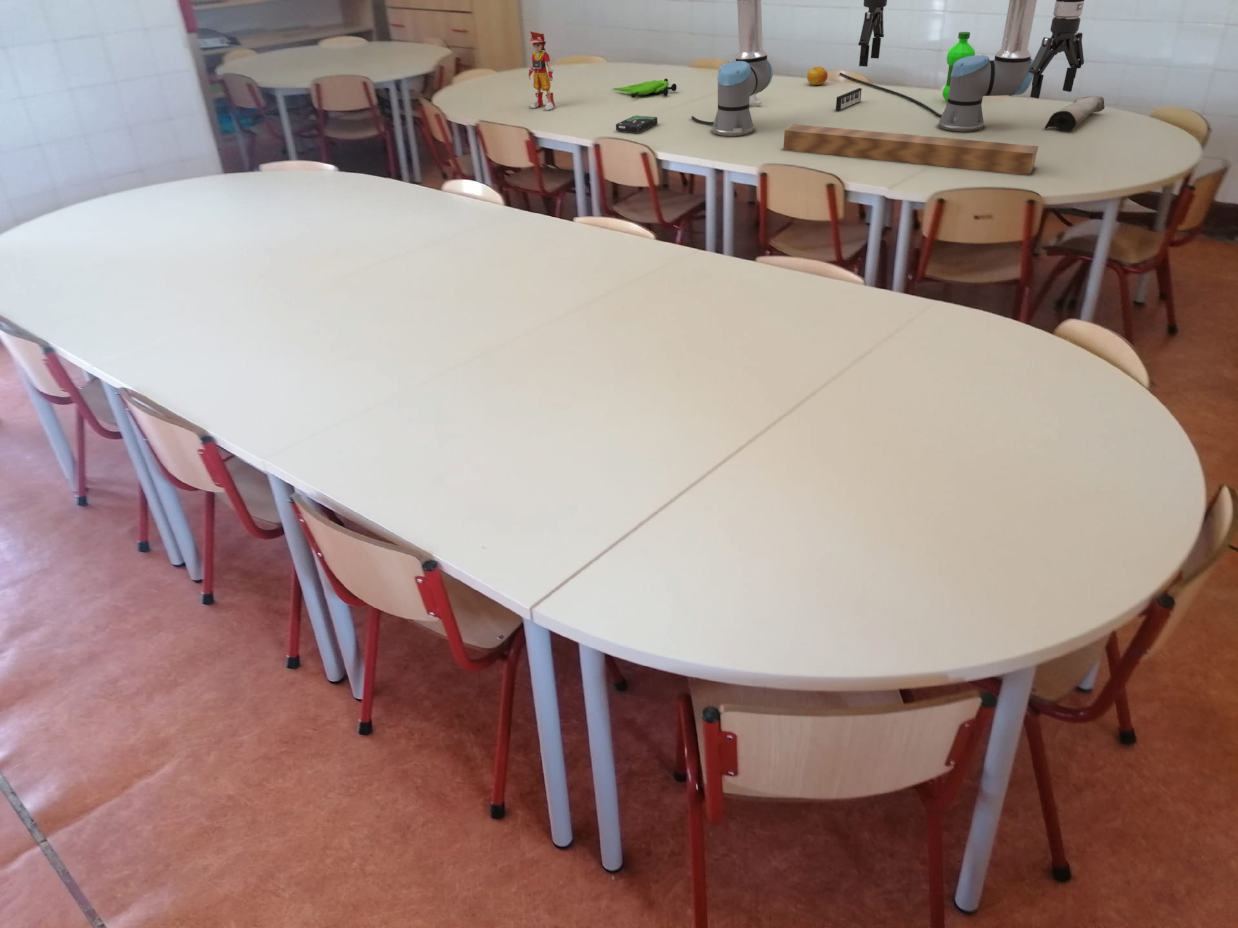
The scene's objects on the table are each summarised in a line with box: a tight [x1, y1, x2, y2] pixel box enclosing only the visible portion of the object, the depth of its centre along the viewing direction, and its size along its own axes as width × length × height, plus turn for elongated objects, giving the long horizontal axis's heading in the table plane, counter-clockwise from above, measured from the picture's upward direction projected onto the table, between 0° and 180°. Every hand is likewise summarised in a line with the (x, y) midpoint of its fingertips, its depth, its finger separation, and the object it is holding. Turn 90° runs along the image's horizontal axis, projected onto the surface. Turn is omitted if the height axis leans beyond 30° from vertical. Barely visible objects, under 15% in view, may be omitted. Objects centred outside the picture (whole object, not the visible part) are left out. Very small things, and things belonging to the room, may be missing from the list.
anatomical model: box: [749, 93, 762, 107], centre depth 368 cm, size 15×10×10 cm
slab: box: [783, 123, 1039, 176], centre depth 297 cm, size 81×8×7 cm, turn 59°
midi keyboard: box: [835, 87, 863, 112], centre depth 357 cm, size 18×1×5 cm, turn 138°
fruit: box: [806, 66, 829, 86], centre depth 389 cm, size 8×8×8 cm
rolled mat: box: [1044, 95, 1106, 133], centre depth 322 cm, size 30×9×10 cm
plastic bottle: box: [942, 31, 976, 103], centre depth 348 cm, size 10×10×25 cm
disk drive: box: [615, 114, 658, 134], centre depth 347 cm, size 10×3×15 cm
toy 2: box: [612, 78, 677, 99], centre depth 396 cm, size 28×5×30 cm
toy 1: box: [527, 31, 556, 111], centre depth 374 cm, size 12×9×30 cm
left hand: (869, 62), depth 308 cm, fingers open, 13 cm apart
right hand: (1050, 94), depth 272 cm, fingers open, 13 cm apart
